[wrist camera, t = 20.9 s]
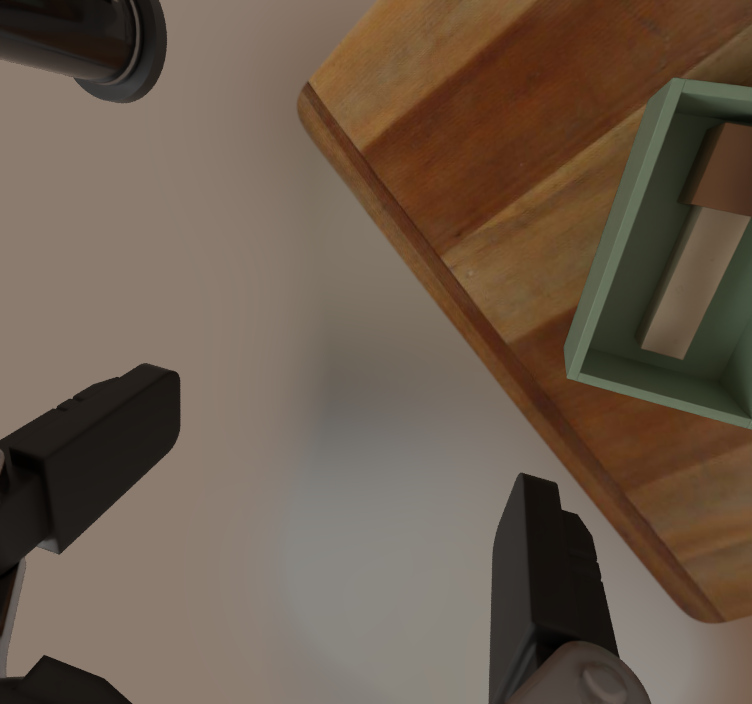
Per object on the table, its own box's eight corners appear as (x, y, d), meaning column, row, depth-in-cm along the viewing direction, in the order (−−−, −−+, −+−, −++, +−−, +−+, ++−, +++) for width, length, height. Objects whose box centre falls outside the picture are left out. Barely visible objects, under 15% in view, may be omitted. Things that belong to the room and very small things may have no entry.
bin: (563, 347, 42) (566, 378, 35) (648, 99, 35) (673, 76, 28) (721, 389, 39) (758, 431, 32) (850, 127, 32) (933, 110, 25)
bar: (620, 334, 40) (628, 348, 36) (706, 129, 34) (725, 121, 30) (687, 352, 38) (701, 369, 35) (787, 143, 33) (817, 137, 29)
